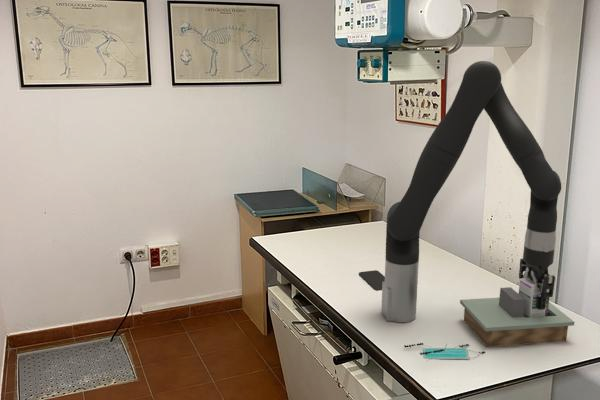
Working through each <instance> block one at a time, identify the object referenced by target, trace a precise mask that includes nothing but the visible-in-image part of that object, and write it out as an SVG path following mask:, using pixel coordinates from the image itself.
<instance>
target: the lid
mask: <svg viewBox="0 0 600 400" xmlns="http://www.w3.org/2000/svg"><path fill="white" fill-rule="evenodd" d="M459 304H460V305H461V306H462V307H463V308H464V309H466V310H467V311H468V312H469V313H470V314H471V316H472V317H473V318H474V319H475V320H476V321H477V322H478V323H479V324H480V325H481V326H482V328H483V329H484V330H485V331H499V330H514V329H529V328H544V327H559V326H568V327H570V326H575V323H576V322H575V321H574V320H573V319H571V318H570V317H569V316H568V315H567V314H566V313H564V312H562V311H561V310H560V309H559V308H558V307H556V306H555V305H554V304H552V303H551V302H550V301H549V308H548V312H549V313H550V314H551V315H552V316H544V317H529V318H525V317H524V306H525V299H524V298H523V297H522V296H521V295H519V292H518V291H516V290H514V288H512V287H509V286H507V287H500V290H499V296H498V297H485V298H466V299H459Z"/></svg>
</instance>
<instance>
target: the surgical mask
mask: <svg viewBox="0 0 600 400" xmlns="http://www.w3.org/2000/svg"><path fill="white" fill-rule="evenodd" d="M447 344H448V343H446V345H445V347H432V346H429V347H423V348H421V349H416V350H415V352H416V351H422V352H419V355H421V356H422V357H423V358H422V359H424V360H425V359H427V360H426V362H428V361H429V360H439V361H440V360H441V361H443V360H447V361H454V360H456V361H458V360H470V356H469V351H471V352H475V353H476V354H477V356H475V358H478V357H479V356H480V355H479V354H481V355H483V354H486V351H485V350H482V351H475V350H473V349H472V350H471V349H468V347H469V346H470V344H468V343H467V344H461V345H459V344H458V346H456V347H447V346H448V345H447ZM415 346H427V345H426V344H425V345H424V343H423V342H422V343H421V342H420V343H413V344H409V345H408V344H407V345H406V344H405V345H403V347H404V348H412V347H415Z"/></svg>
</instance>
